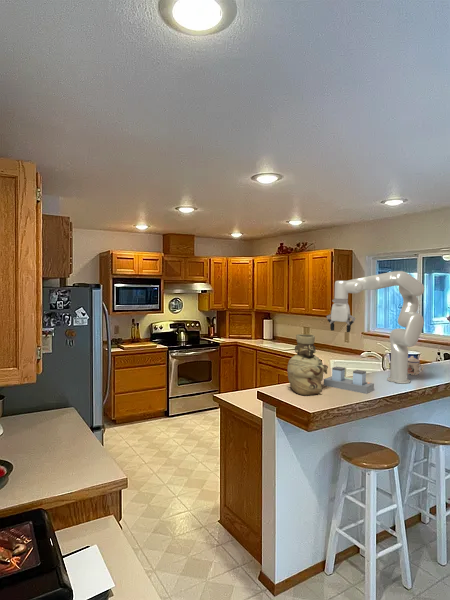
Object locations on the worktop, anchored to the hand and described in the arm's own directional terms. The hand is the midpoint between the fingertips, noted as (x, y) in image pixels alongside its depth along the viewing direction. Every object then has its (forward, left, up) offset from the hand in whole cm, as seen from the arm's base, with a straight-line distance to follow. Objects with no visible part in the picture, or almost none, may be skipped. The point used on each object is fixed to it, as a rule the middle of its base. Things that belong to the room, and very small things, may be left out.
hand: (340, 331), depth 230 cm
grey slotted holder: (+12, +11, -30) cm, 34 cm away
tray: (-1, +5, -30) cm, 31 cm away
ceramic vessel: (+30, -5, -31) cm, 43 cm away
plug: (+12, +5, -29) cm, 32 cm away
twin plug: (+12, +17, -29) cm, 36 cm away
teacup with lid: (-57, +25, -31) cm, 69 cm away
